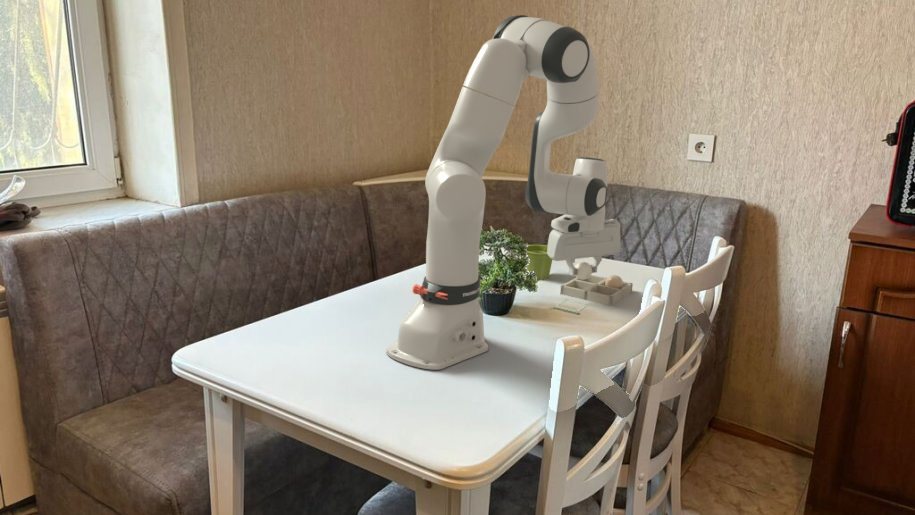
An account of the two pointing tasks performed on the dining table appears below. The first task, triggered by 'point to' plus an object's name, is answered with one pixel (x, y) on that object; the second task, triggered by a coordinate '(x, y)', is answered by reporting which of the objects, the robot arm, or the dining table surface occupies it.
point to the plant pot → (539, 261)
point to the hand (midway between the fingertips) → (582, 273)
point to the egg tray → (595, 290)
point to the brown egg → (614, 282)
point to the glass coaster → (569, 309)
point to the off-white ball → (583, 270)
